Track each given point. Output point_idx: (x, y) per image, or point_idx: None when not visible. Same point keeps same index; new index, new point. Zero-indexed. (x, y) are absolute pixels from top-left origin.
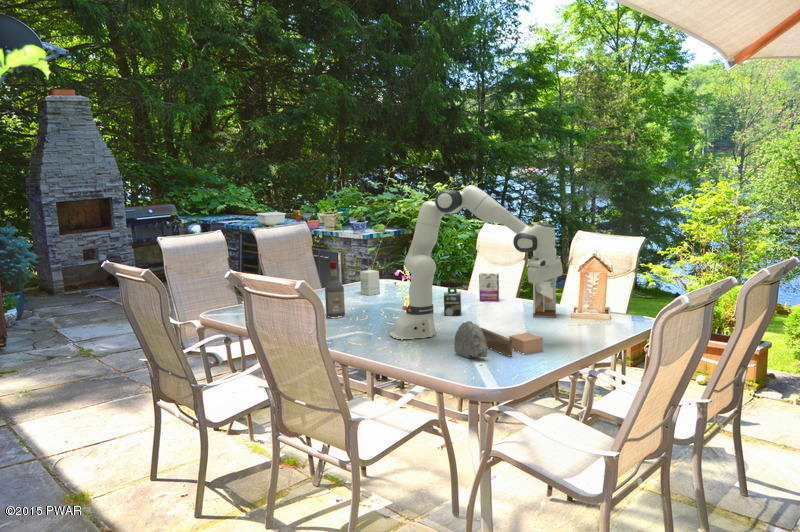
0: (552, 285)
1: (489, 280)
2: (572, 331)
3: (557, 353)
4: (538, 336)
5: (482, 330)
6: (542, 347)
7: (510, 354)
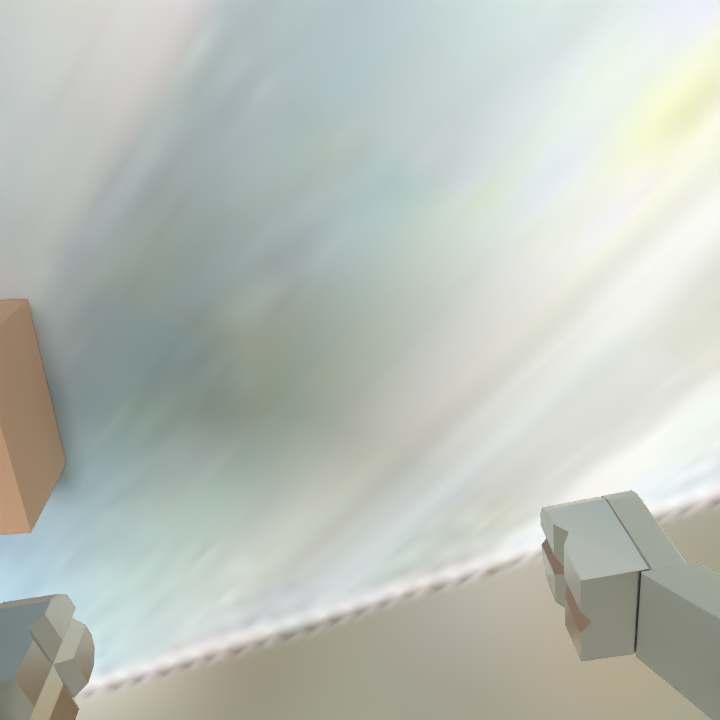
0: (569, 590)
1: None
2: (655, 154)
3: (127, 546)
4: (11, 494)
5: None
6: (55, 479)
7: None
